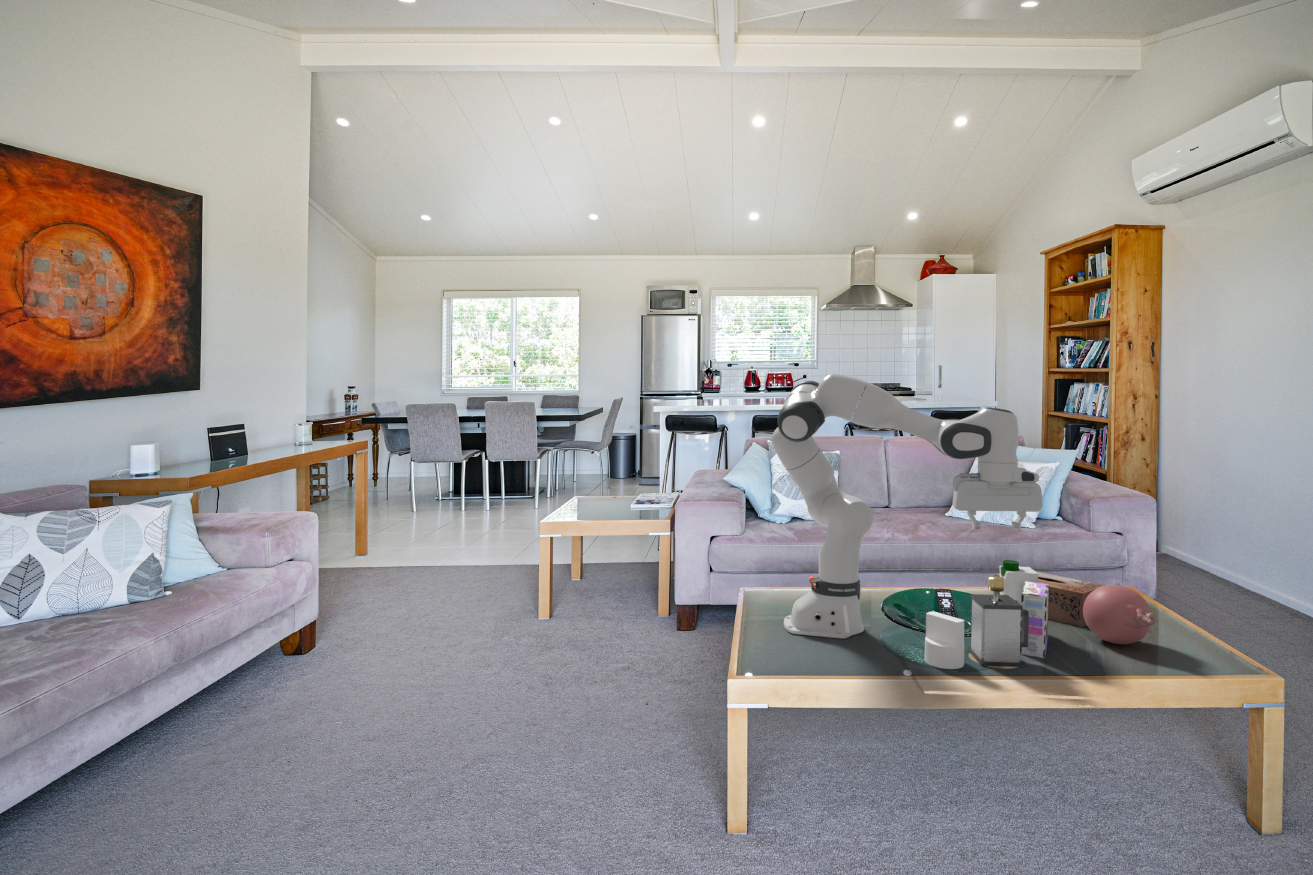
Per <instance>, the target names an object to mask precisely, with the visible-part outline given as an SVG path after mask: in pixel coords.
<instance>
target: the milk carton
mask: <svg viewBox="0 0 1313 875" xmlns="http://www.w3.org/2000/svg"><path fill="white" fill-rule="evenodd" d="M1035 571H1036V570H1034V569H1033V568H1031V567H1030V566H1020V562H1019V561H1016V560H1011V559H1010V560H1009V559H1004V560H1003V561H1002V565H999V573H1000V577H1003V578H1004V579H1005V580H1004V591H1003V592H1000V595H1008V596H1010V597H1011V598H1013V599H1014V600H1015V601H1017V602H1018V603H1019V604H1021V595H1022V591H1023V587H1024V585H1025V581H1027V582H1036V583H1038V573H1037V572H1038V571H1037V572H1035ZM1020 627H1021V620H1020Z"/></svg>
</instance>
